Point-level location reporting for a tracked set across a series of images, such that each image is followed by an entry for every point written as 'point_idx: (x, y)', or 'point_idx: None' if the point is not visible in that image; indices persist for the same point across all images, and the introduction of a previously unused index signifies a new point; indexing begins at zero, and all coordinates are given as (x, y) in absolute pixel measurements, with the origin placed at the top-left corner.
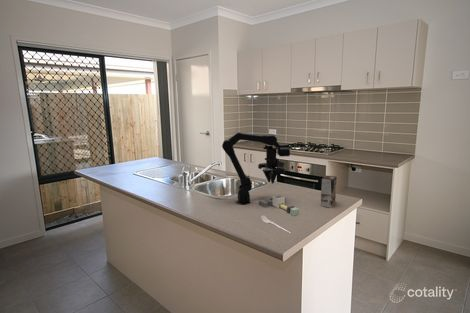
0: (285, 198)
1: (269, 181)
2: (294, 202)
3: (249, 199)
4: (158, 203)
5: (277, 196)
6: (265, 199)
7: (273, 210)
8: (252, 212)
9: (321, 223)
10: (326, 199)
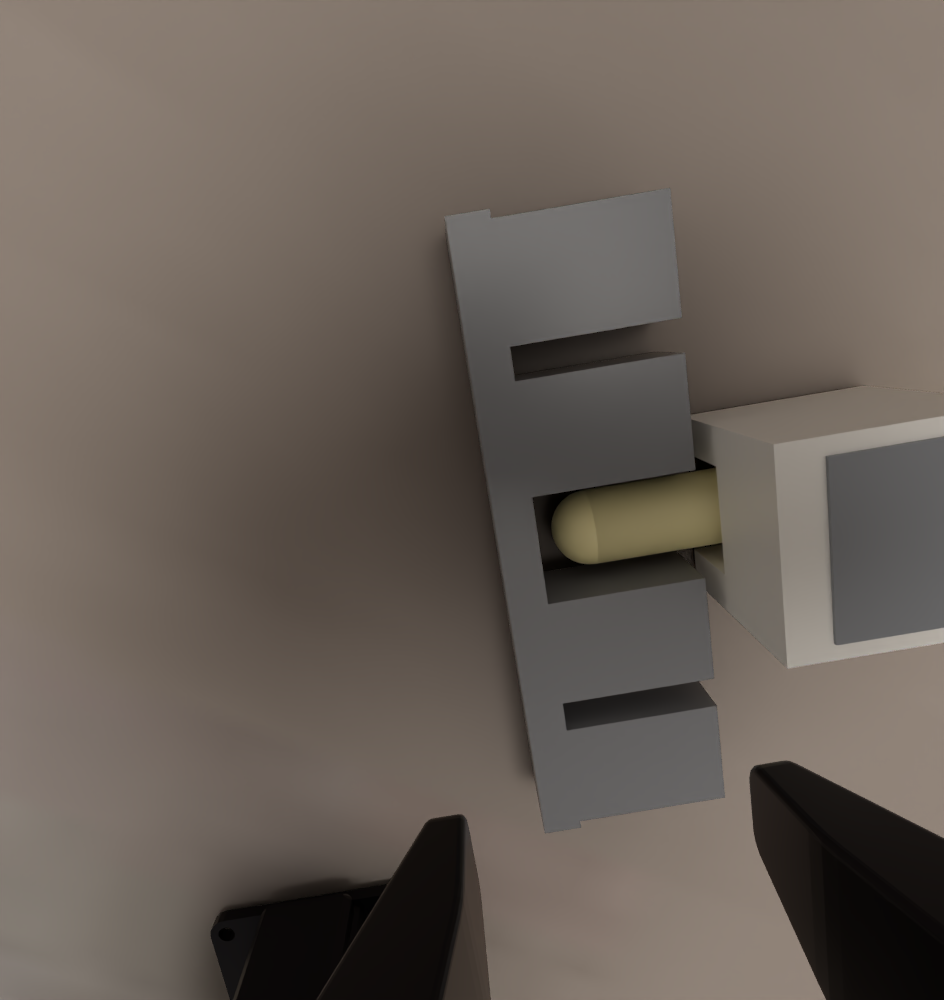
0: (670, 206)
1: (475, 871)
2: (742, 12)
3: (348, 927)
4: None
5: (868, 560)
6: (537, 690)
7: (906, 665)
8: (809, 985)
9: None
10: None
